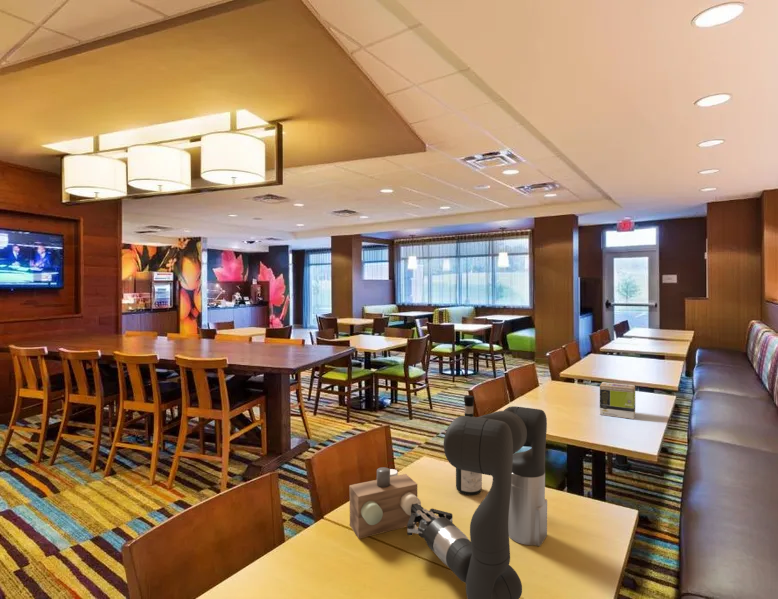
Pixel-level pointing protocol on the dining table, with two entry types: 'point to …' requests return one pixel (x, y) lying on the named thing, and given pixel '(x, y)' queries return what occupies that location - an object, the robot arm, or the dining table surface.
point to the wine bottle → (465, 479)
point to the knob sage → (371, 512)
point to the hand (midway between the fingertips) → (414, 507)
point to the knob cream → (408, 502)
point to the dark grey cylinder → (383, 477)
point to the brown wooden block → (380, 505)
